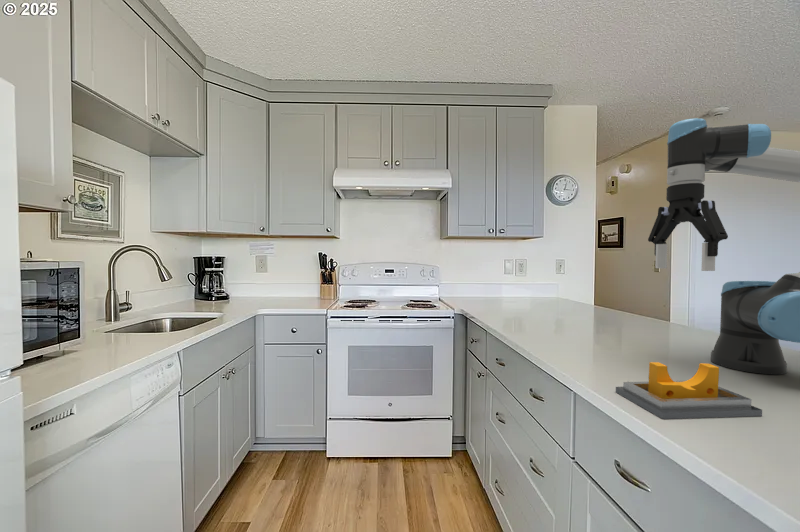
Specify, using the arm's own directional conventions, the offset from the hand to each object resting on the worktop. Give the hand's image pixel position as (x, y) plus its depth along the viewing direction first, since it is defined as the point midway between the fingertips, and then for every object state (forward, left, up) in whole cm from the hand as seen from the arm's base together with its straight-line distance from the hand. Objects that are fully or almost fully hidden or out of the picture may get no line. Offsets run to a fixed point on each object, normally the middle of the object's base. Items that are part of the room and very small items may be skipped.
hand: (682, 269), depth 93 cm
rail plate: (+15, +18, -26) cm, 35 cm away
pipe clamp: (+15, +18, -25) cm, 34 cm away
